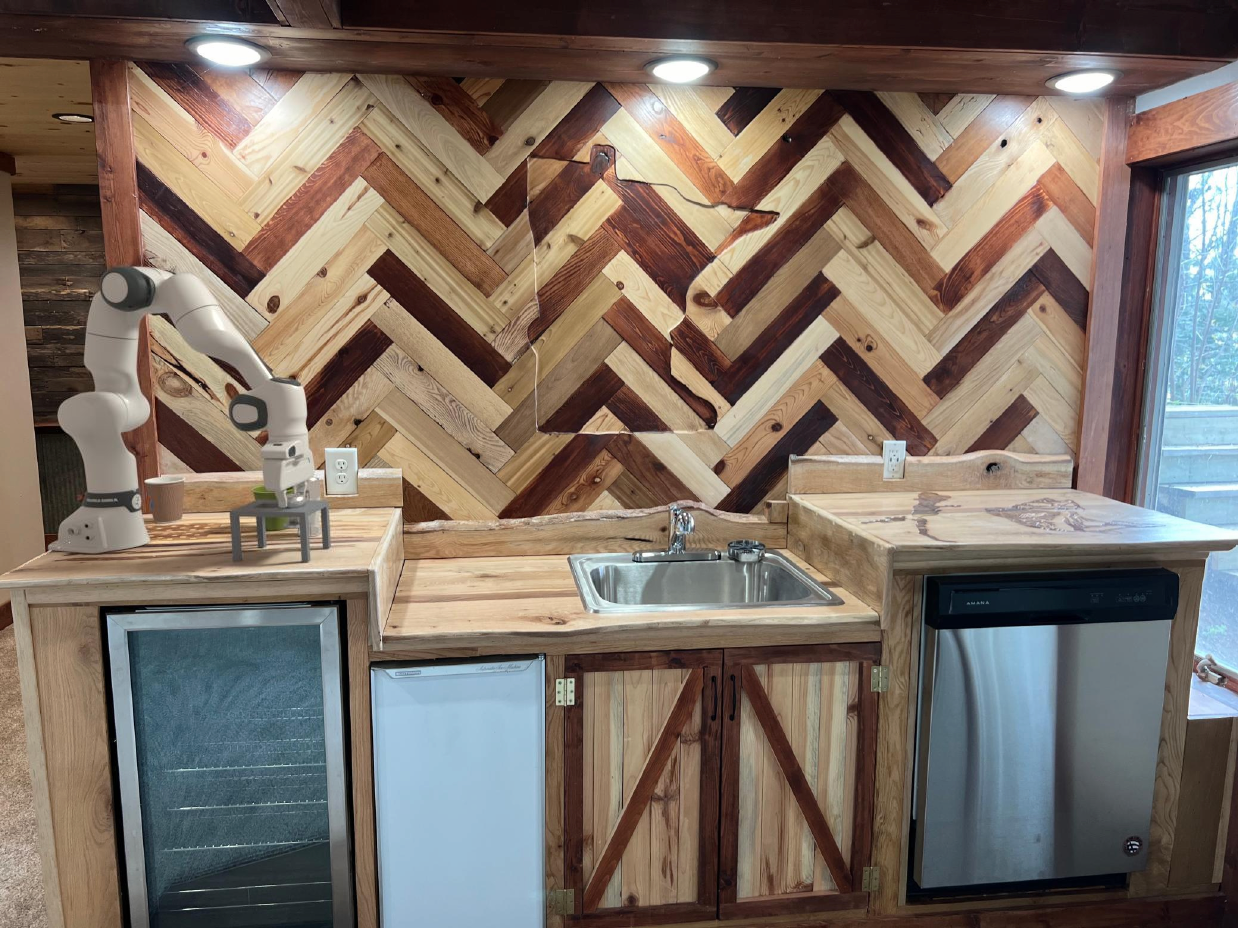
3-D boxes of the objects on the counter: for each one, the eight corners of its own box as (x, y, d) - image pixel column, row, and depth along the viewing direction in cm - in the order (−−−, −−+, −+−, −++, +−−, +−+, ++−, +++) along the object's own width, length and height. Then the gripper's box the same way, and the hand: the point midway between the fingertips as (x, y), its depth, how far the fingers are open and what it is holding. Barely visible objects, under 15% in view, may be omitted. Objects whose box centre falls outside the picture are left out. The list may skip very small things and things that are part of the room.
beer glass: (327, 531, 229) (324, 477, 226) (316, 538, 222) (312, 481, 220) (302, 531, 230) (299, 476, 227) (290, 537, 223) (287, 481, 220)
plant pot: (244, 532, 228) (242, 491, 226) (268, 522, 240) (265, 483, 238) (286, 533, 227) (283, 492, 225) (307, 523, 238) (305, 484, 237)
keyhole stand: (233, 561, 199) (229, 511, 198) (260, 546, 213) (257, 499, 211) (308, 562, 199) (305, 512, 197) (331, 547, 212) (328, 500, 210)
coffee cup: (157, 517, 246) (153, 476, 245) (194, 516, 248) (190, 476, 246) (141, 525, 236) (137, 483, 234) (179, 524, 237) (176, 482, 236)
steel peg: (276, 529, 202) (274, 498, 201) (287, 524, 208) (285, 493, 207) (300, 530, 202) (298, 498, 200) (311, 524, 208) (309, 493, 206)
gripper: (294, 440, 212) (297, 494, 214) (256, 452, 192) (260, 511, 194) (319, 440, 212) (322, 495, 214) (283, 452, 192) (287, 512, 194)
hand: (292, 503), depth 204 cm, fingers open, 8 cm apart
